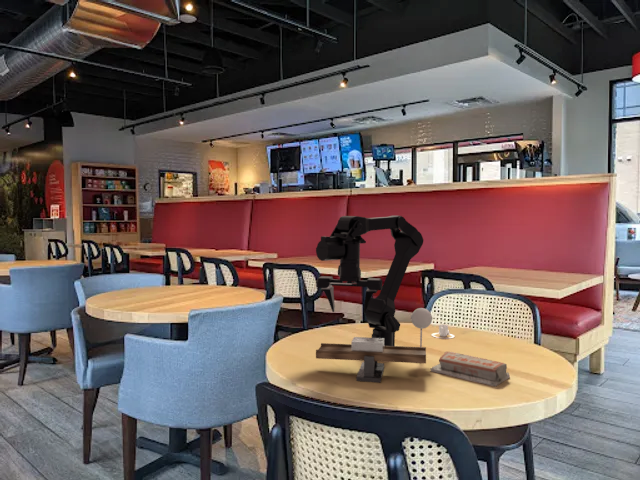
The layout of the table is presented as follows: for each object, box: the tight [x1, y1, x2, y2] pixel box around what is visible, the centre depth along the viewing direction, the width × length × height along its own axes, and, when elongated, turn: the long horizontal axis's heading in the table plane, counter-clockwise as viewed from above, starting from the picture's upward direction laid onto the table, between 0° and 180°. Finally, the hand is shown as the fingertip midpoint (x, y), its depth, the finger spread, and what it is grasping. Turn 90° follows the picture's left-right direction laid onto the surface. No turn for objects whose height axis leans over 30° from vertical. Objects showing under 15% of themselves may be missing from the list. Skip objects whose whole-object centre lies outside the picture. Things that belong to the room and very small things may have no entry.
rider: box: [351, 336, 384, 352], centre depth 130 cm, size 8×5×3 cm, turn 78°
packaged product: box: [429, 351, 510, 387], centre depth 131 cm, size 18×5×10 cm
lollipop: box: [410, 307, 433, 347], centre depth 144 cm, size 6×6×15 cm
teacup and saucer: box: [430, 323, 455, 340], centre depth 173 cm, size 9×8×4 cm
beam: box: [315, 342, 427, 364], centre depth 131 cm, size 28×8×2 cm, turn 79°
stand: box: [356, 355, 385, 383], centre depth 131 cm, size 6×13×6 cm, turn 169°
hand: (349, 312), depth 146 cm, fingers open, 9 cm apart
